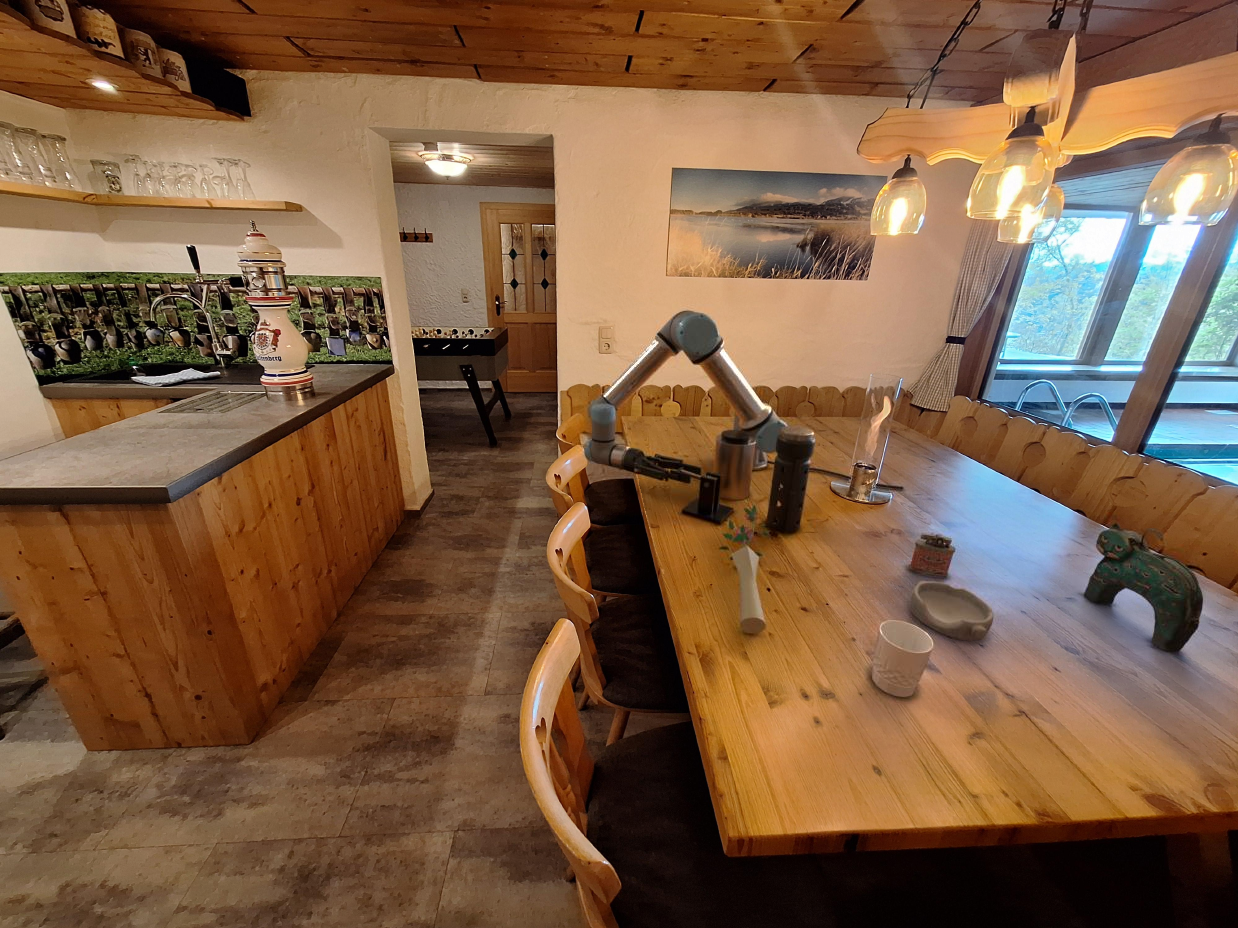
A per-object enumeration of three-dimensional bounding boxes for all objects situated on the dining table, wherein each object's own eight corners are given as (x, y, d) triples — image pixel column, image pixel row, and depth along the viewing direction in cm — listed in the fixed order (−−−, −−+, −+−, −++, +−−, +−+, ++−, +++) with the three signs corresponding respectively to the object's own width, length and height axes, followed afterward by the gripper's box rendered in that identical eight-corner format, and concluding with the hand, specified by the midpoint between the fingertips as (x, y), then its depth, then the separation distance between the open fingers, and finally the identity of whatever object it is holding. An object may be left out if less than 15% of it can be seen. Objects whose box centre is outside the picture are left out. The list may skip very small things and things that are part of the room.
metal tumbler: (705, 493, 156) (710, 435, 149) (719, 481, 165) (725, 426, 158) (741, 503, 150) (748, 442, 143) (754, 490, 159) (761, 432, 152)
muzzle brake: (805, 536, 131) (796, 518, 141) (822, 437, 121) (811, 425, 131) (769, 534, 132) (762, 516, 142) (783, 435, 122) (774, 424, 131)
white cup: (858, 666, 88) (869, 620, 84) (900, 664, 88) (913, 618, 85) (884, 701, 80) (898, 653, 77) (929, 699, 81) (945, 651, 77)
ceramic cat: (1071, 590, 110) (1105, 510, 103) (1100, 591, 110) (1136, 511, 103) (1159, 654, 92) (1207, 562, 85) (1194, 655, 92) (1246, 564, 84)
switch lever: (672, 477, 143) (673, 469, 142) (681, 470, 148) (682, 463, 147) (710, 490, 137) (711, 482, 136) (718, 483, 142) (719, 476, 141)
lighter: (945, 571, 116) (956, 535, 113) (949, 579, 113) (960, 542, 110) (907, 565, 119) (917, 529, 115) (910, 572, 116) (920, 535, 112)
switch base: (681, 513, 143) (684, 476, 138) (696, 501, 150) (699, 466, 146) (720, 525, 137) (724, 486, 132) (733, 511, 144) (737, 475, 140)
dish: (990, 653, 91) (998, 631, 89) (905, 626, 98) (911, 605, 96) (985, 611, 103) (992, 591, 101) (910, 589, 109) (915, 570, 108)
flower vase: (730, 655, 100) (722, 539, 129) (792, 650, 96) (770, 531, 125) (717, 617, 94) (712, 504, 123) (783, 611, 91) (762, 496, 119)
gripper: (643, 461, 163) (707, 477, 151) (611, 479, 148) (679, 498, 136) (644, 440, 160) (709, 454, 148) (611, 456, 145) (681, 473, 133)
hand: (695, 475), depth 142 cm, fingers closed on switch lever, 6 cm apart
